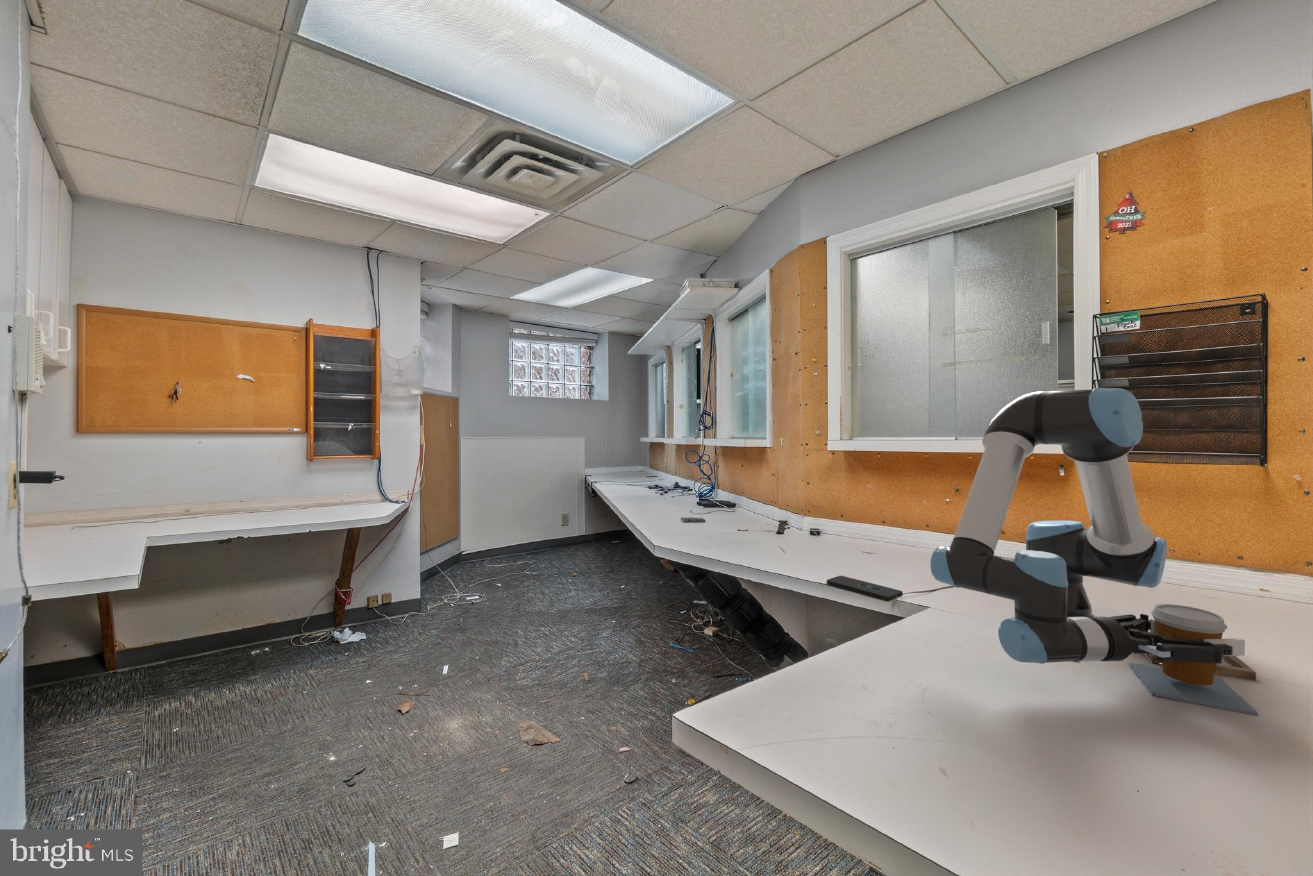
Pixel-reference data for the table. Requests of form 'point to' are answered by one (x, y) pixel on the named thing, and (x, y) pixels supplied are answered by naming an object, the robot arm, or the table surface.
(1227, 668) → the cup holder frame
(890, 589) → the smart home device
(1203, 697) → the rubber mat
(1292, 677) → the table surface
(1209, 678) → the disposable coffee cup
